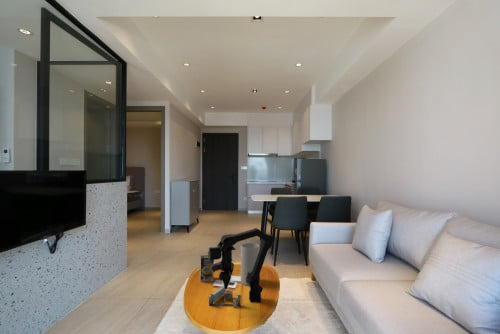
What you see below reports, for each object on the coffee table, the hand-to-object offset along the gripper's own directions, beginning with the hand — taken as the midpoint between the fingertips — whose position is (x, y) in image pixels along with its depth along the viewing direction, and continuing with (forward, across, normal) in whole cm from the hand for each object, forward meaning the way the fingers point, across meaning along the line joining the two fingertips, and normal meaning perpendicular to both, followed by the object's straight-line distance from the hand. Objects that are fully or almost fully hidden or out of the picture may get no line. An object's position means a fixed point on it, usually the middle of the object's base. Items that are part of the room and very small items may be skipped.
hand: (226, 285), depth 157 cm
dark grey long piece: (+11, +1, -1) cm, 11 cm away
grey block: (+10, -7, -6) cm, 13 cm away
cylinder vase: (+11, -32, +12) cm, 36 cm away
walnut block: (+11, -6, 0) cm, 13 cm away
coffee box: (+11, -34, -18) cm, 40 cm away
